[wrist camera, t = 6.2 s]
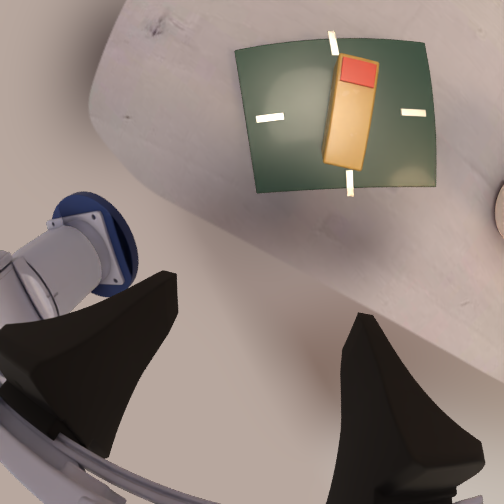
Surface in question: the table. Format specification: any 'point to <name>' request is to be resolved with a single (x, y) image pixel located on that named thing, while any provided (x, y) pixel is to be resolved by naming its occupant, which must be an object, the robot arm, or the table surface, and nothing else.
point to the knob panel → (316, 107)
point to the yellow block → (350, 111)
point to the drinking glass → (500, 212)
